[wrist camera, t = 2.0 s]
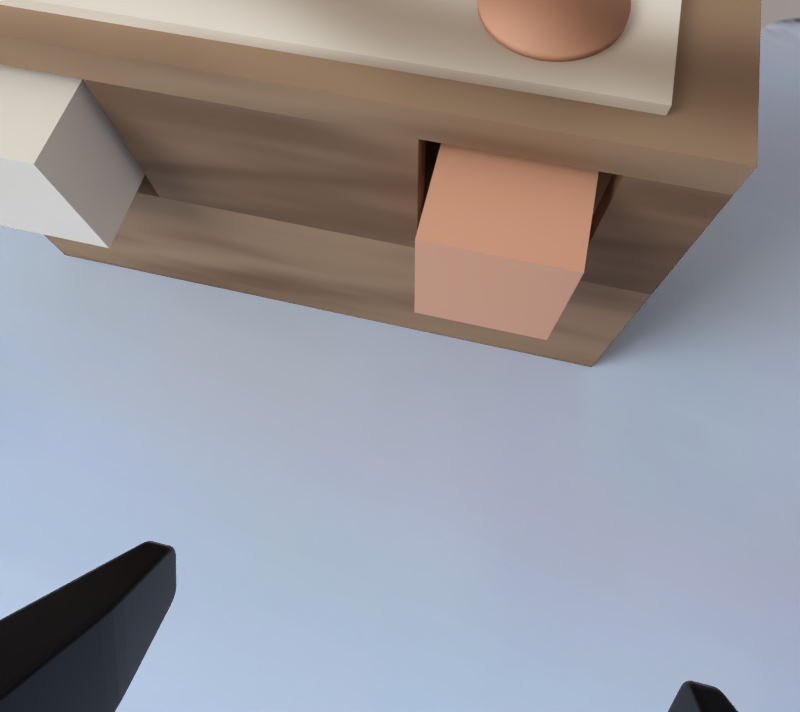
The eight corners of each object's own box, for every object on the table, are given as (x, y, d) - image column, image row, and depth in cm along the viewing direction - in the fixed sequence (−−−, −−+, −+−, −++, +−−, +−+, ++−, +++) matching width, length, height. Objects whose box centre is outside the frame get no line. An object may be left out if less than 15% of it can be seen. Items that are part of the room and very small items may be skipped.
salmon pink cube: (546, 340, 17) (583, 272, 13) (414, 312, 18) (415, 239, 14) (565, 227, 19) (603, 138, 15) (442, 204, 19) (449, 111, 15)
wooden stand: (591, 367, 24) (769, 150, 12) (64, 254, 27) (-223, -18, 15) (609, 227, 27) (773, -69, 15) (126, 136, 29) (-77, -181, 17)
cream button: (109, 248, 19) (33, 164, 15) (-4, 224, 19) (-105, 137, 15) (157, 150, 20) (98, 51, 16) (50, 129, 20) (-30, 28, 17)
